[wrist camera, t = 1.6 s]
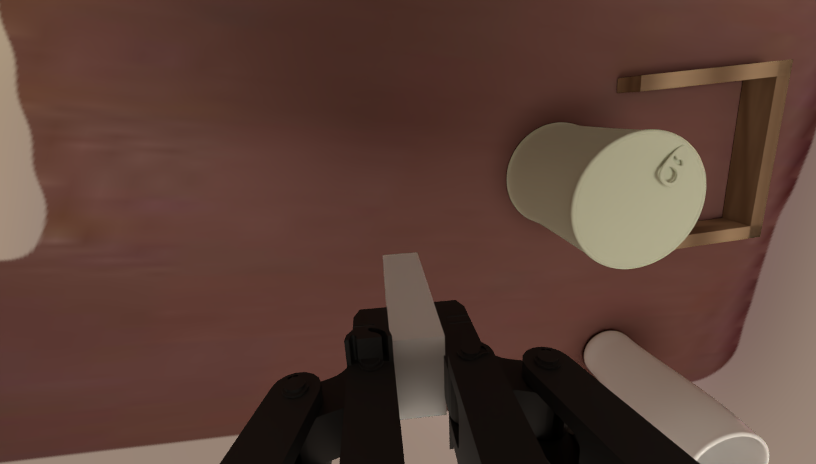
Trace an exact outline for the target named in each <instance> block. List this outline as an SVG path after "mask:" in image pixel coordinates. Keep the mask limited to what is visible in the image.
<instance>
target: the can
mask: <svg viewBox="0 0 816 464" xmlns="http://www.w3.org/2000/svg"><path fill="white" fill-rule="evenodd" d="M506 180H507V190H508V194H509V197H510V199H511V201H512V203H513V205H514V206H515V208H516V209H517V210H518V211H519V212H520V213H521V214H522V215H523V216H525V217H526V218H528V219H530V220H532V221H535V222H538V223H539V224H541V225H543V226H544V227H546V228H547V229H549V230H551V231H552V232H554V233H555V234H557V235H559V236H560V237H562V238H563V239H565V240H566V241H568V242H569V243H571V244H572V245H574V246H575V247H577V248H579V249H580V250H581V251H583V252H584V253H586V254H587V255H588V256H589V257H590V258H591V259H593V260H594V261H596V262H598V263H600V264H602V265H604V266H607V267H611V268H617V269H633V268H639V267H643V266H646V265H649V264H652V263H654V262H656V261H658V260H660V259H662V258H663V257H665V256H667V255H668V254H669V253H671V252H672V251H673V250H674V249H675V248H677V247H678V246H679V245H680V244H681V243H682V242H683V241H684V240H685V238H686V237H687V236H688V235H689V233H690V232H691V230H692V229H693V227H694V226H695V224H696V222H697V220H698V218H699V216H700V214H701V211H702V208H703V205H704V200H705V195H706V175H705V170H704V166H703V163H702V161H701V159H700V156H699V155H698V153H697V152H696V150H695V149H694V148H693V146H692V145H691V144H690V143H689V142H687V141H686V140H685V139H683V138H682V137H680V136H678V135H676V134H674V133H671V132H669V131H664V130H658V129H646V130H633V129H616V128H602V127H589V126H578V125H575V124H572V123H566V122H558V123H551V124H548V125H545V126H542V127H540V128H538V129H536V130H534V131H533V132H531V133H530V134H529V135H528V136H526V137H525V138H524V139H523V140H522V141H521V143H520V144H519V145H518V146H517V148H516V149H515V151H514V153H513V155H512V157H511V159H510V162H509V165H508V170H507V178H506Z"/></svg>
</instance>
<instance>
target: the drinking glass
mask: <svg viewBox="0 0 816 464" xmlns="http://www.w3.org/2000/svg"><path fill="white" fill-rule="evenodd" d="M584 362H585V364H586V366H587V368H588V369H589V370H590V372H591V373H592V374H593V375H594V376H595V377H596V378H597V380H598V381H599V382H600V383H602V384H603V385H604V386H605V387H607V388H608V389H609V390H610V391H611V392H613V393H614V394H615V395H616V396H618V397H619V398H620V399H621V400H623V401H624V402H625V403H626V404H627V405H629V406H630V407H631V408H632V409H634V410H635V411H636V412H637V413H638V414H640V415H641V416H642V417H643V418H645V419H646V420H647V421H648V422H650V423H651V424H652V425H653V426H654V427H656V428H657V429H658V430H659V431H661V432H662V433H663V434H664V435H665V436H667V437H668V438H669V439H670V440H672V441H673V442H674V443H675V444H676V445H678V446H679V447H680V448H681V449H683V450H684V451H685V452H686V453H688V454H689V455H690V456H691V457H692V458H694V459H695V460H696V461H697V462H699V463H700V464H768V463H769V449H768V446H767V444H766V443H765V441H764V440H763V439H762V438H761V437H760V436H758V435H757V434H756V433H755V432H754V431H753V430H752V429H751V428H749V427H748V426H747V425H746V424H745V423H744V422H743V421H742V420H740V419H739V418H738V417H737V416H735V415H734V414H733V413H732V412H731V411H730V410H728V409H727V408H726V407H725V406H723V405H722V404H721V403H719V402H718V401H717V400H715V399H714V398H713V397H712V396H710V395H709V394H707V393H706V392H704V391H703V390H702V389H700V388H699V387H698V386H696V385H695V384H693V383H692V382H690V381H689V380H687V379H686V378H685V377H683V376H682V375H680V374H679V373H677V372H676V371H674V370H673V369H671V368H670V367H669V366H667V365H666V364H664V363H663V362H661V361H660V360H659V359H657V358H656V357H654V356H653V355H651V354H650V353H649V352H647V351H646V350H644V349H643V348H641V347H640V346H639V345H637V344H636V343H635V342H634V341H632V340H631V339H630V338H629V337H628V336H626V335H625V334H623V333H621V332H618V331H605V332H602V333H599V334H597V335H596V336H594V337H593V338H592V339H591V340H590V341H589V342H588V344H587V346H586V348H585V350H584Z"/></svg>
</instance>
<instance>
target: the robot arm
mask: <svg viewBox="0 0 816 464" xmlns="http://www.w3.org/2000/svg"><path fill="white" fill-rule="evenodd" d="M383 267H384V281H385V294H386V307H385V308H374V309H363V310H359V312H358V313H357V314H356V315H355V317H354V320H353V330H352V331H351V332H350V333H349V334H347V335H346V338H345V340H344V343H345V352H346V360H347V368H346V369H345V370H344V371H343V372H342V373H340V374H339V375H337V376H335V377H333V378H330V379H327V380H324V381H321V382H320V379H319V377H317V376H316V375H314V374H312V373H307V372H301V373H294V374H291V375H288V376H285V377H284V378H282V379H280V380H279V381H277V382H276V383H275V384H274V385H273V387H272V388H271V389H270V391H269V392H268V394H267V395H266V397H265V398H264V400H263V401H262V402H261V404H260V405H259V407H258V408H257V410H256V411H255V413H254V414H253V416H252V417H251V419H250V420H249V422H248V423H247V425H246V426H245V427H244V429H243V430H242V432H241V433H240V435H239V436H238V438H237V439H236V441H235V442H234V444H233V445H232V447H231V448H230V450H229V451H228V452H227V454H226V455H225V457H224V458H223V460H222V461H221V463H220V464H331V462H332V460H334V459H336V458H339V457H340V464H404V454H403V444H402V435H401V426H400V420H403V419H412V418H421V417H430V416H439V415H446V404H447V407H448V411H449V431H450V432H449V434H450V449H453V448H454V449H455V453H456V457H457V462H458V464H700V463H699V462H697V461H696V460H695V459H694V458H692V457H691V456H690V455H689V454H688V453H686V452H685V451H684V450H683V449H681V448H680V447H679V446H678V445H676V444H675V443H674V442H673V441H672V440H670V439H669V438H668V437H667V436H665V435H664V434H663V433H662V432H661V431H659V430H658V429H657V428H656V427H654V426H653V425H652V424H651V423H650V422H648V421H647V420H646V419H645V418H643V417H642V416H641V415H640V414H638V413H637V412H636V411H635V410H634V409H632V408H631V407H630V406H629V405H627V404H626V403H625V402H624V401H623V400H621V399H620V398H619V397H618V396H616V395H615V394H614V393H613V392H611V391H610V390H609V389H608V388H607V387H605V386H604V385H603V384H602V383H600V382H599V381H598V380H597V379H596V378H594V377H593V376H592V375H591V374H589V373H588V372H587V371H586V370H585V369H583V368H582V367H581V366H580V365H578V364H577V363H576V362H575V361H573V360H572V359H571V358H570V357H569V356H567V355H566V354H564V353H562V352H561V351H559V350H556V349H553V348H548V347H536V348H531V349H529V350H527V351H526V352H525V353H524V355H523V361H521V360H512V359H505V358H501V357H498V356H495V354H494V352H493V350H492V349H491V348H490V347H489V346H488V345H486V344H484V343H482V342H481V341H480V339H479V337H478V335H477V332H476V330H475V328H474V326H473V324H472V322H471V320H470V318H469V316H468V313H467V311H466V309H465V307H464V306H463V305H462V304H460V303H459V302H457V301H456V300H451V301H440V302H433V299H432V296H431V293H430V290H429V287H428V284H427V281H426V278H425V275H424V272H423V268H422V265H421V262H420V259H419V256H418V253H417V252H416V253H404V254H391V255H383Z"/></svg>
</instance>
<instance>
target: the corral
mask: <svg viewBox="0 0 816 464" xmlns="http://www.w3.org/2000/svg"><path fill="white" fill-rule="evenodd" d="M792 62H793V59H791V60H782V61H772V62H763V63H754V64H744V65H735V66H726V67H716V68H707V69H697V70H688V71H679V72H669V73H660V74H650V75H641V76H633V77H624V78H618V84H617V93H624V92H640V91H649V90H658V89H667V88H676V87H686V86H695V85H704V84H713V83H722V82H731V81H740V80H743V84H742V90H741V97H740V104H739V110H738V117H737V123H736V130H735V137H734V143H733V150H732V156H731V163H730V169H729V176H728V183H727V189H726V196H725V202H724V209H723V215H722V218H717V219H709V220H702V221H697V222H696V224H695V226H694V227H693V229H692V230H691V232H690V233H689V235H688V236H687V237H686V238H685V240H684V241H683V242H682V243H681V244H680V245H679V246H678V247H677V248H675V249H679V248H686V247H693V246H700V245H706V244H713V243H720V242H727V241H734V240H741V239H747V238H754V237H760V234H761V229H762V224H763V218H764V213H765V208H766V202H767V197H768V191H769V186H770V181H771V175H772V170H773V165H774V159H775V154H776V148H777V143H778V138H779V132H780V127H781V122H782V116H783V111H784V105H785V100H786V95H787V89H788V84H789V79H790V73H791V68H792Z"/></svg>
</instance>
